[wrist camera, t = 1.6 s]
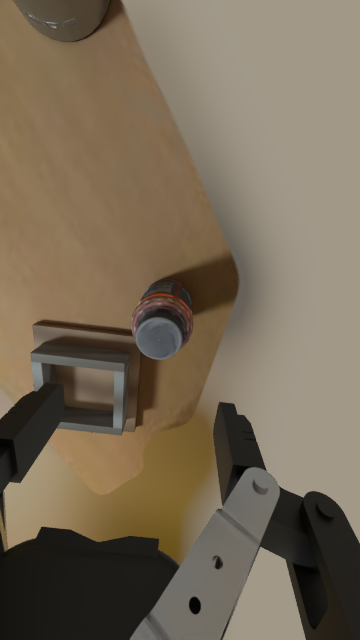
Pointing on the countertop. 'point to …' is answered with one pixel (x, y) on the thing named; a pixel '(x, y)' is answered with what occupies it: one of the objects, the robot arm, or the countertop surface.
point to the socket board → (89, 375)
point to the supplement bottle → (163, 319)
